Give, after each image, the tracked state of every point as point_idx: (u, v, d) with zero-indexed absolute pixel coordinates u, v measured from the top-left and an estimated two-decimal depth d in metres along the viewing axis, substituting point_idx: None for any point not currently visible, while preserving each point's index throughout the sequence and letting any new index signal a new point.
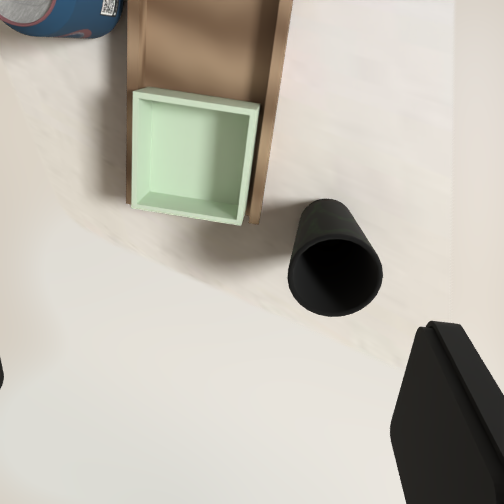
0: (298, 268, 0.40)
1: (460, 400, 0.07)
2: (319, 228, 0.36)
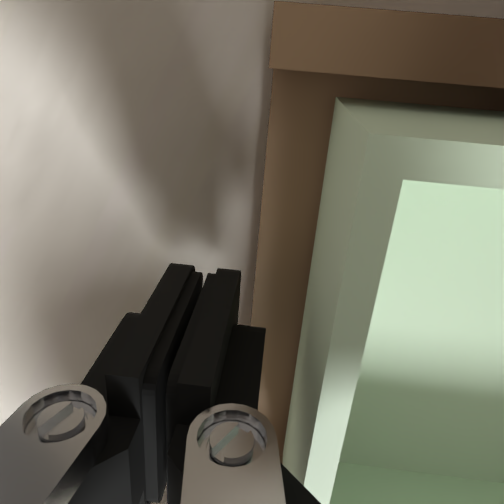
0: None
1: (194, 322, 0.08)
2: None
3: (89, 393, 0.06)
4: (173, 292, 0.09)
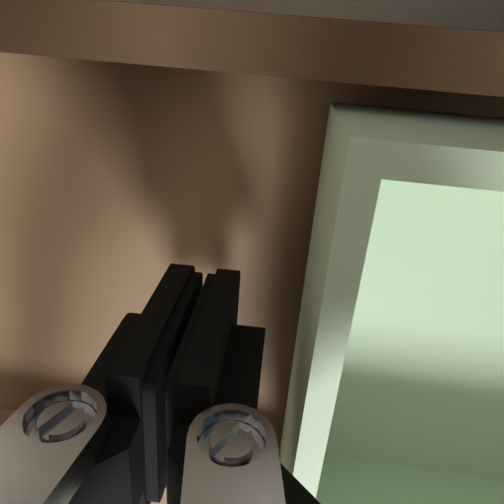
0: None
1: (193, 322, 0.08)
2: None
3: (89, 393, 0.06)
4: (173, 292, 0.09)
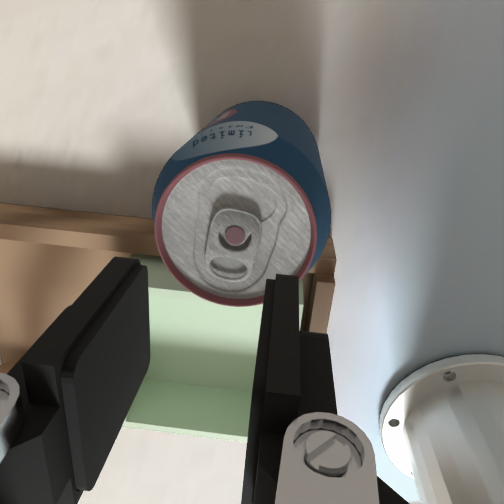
0: None
1: (264, 329, 0.08)
2: None
3: (5, 381, 0.06)
4: (110, 284, 0.09)
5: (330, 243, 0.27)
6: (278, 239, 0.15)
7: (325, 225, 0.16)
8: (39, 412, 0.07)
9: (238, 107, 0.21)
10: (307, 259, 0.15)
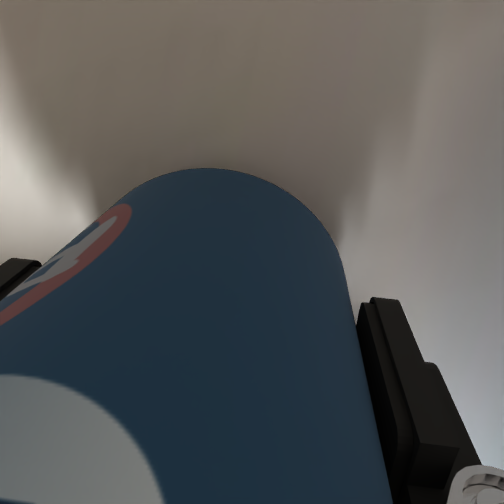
0: None
1: (384, 363, 0.07)
2: None
3: None
4: None
5: None
6: None
7: None
8: None
9: (146, 200, 0.08)
10: None
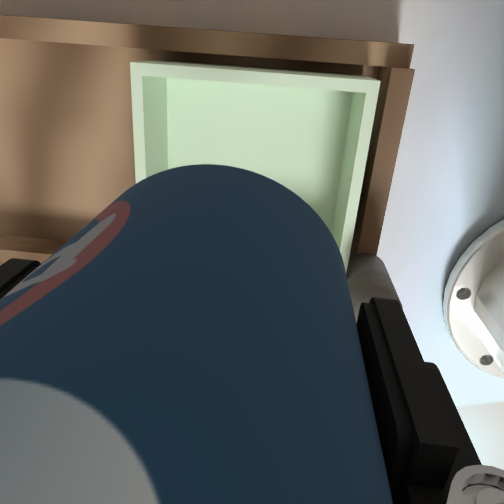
0: None
1: (384, 363, 0.07)
2: None
3: None
4: None
5: None
6: None
7: None
8: None
9: (145, 197, 0.08)
10: None
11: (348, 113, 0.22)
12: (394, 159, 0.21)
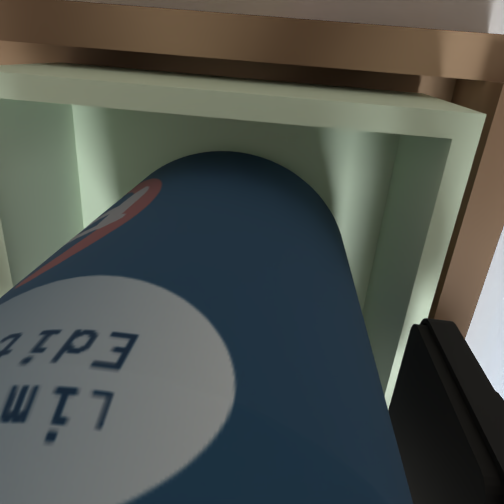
0: None
1: (452, 396, 0.07)
2: None
3: None
4: None
5: None
6: None
7: None
8: None
9: (172, 174, 0.10)
10: None
11: (392, 160, 0.13)
12: (490, 253, 0.11)
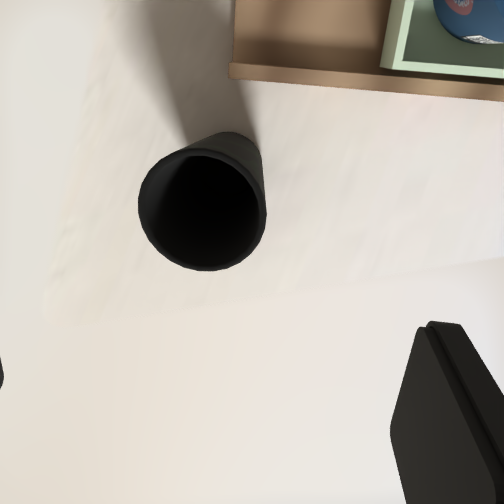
0: None
1: (460, 400, 0.07)
2: (260, 180, 0.27)
3: None
4: None
5: None
6: None
7: None
8: None
9: None
10: None
11: None
12: None
